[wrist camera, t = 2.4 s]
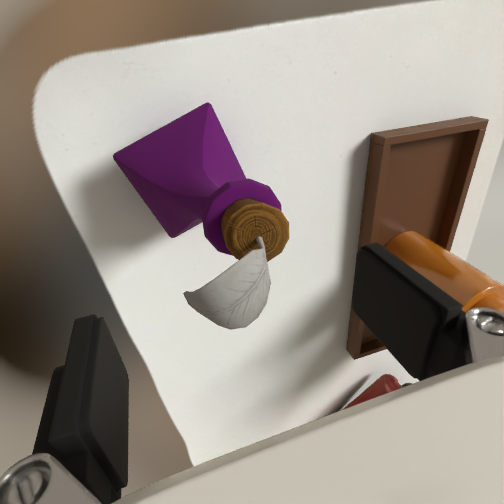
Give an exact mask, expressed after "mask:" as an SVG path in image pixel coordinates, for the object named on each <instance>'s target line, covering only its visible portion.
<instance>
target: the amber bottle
mask: <svg viewBox="0 0 504 504" xmlns="http://www.w3.org/2000/svg"><path fill="white" fill-rule="evenodd" d="M384 248H386V249H387V250H389V251H390V252H391V253H393V254H394V255H395V256H397V257H398V258H399V259H401V260H402V261H403V262H405V263H406V264H408V265H409V266H410V267H412V268H413V269H414V270H416V271H417V272H418V273H420V274H421V275H423V276H424V277H425V278H427V279H428V280H429V281H431V282H432V283H433V284H435V285H436V286H438V287H439V288H440V289H442V290H443V291H444V292H446V293H447V294H448V295H450V296H451V297H452V298H454V299H455V300H457V301H458V302H459V303H461V304H462V305H463V307H462V310H463V311H464V312H465V313H467V312H468V311H469V310H470V309H473V308H478V307H484V308H491V309H495V310H498V311H500V312H503V313H504V285H503V284H501V283H499V282H498V281H496V280H495V279H493V278H491V277H490V276H488V275H486V274H485V273H483V272H482V271H480V270H478V269H477V268H475V267H474V266H472V265H470V264H469V263H467V262H465V261H464V260H462V259H461V258H459V257H457V256H456V255H454V254H452V253H451V252H449V251H448V250H446V249H444V248H443V247H441V246H439V245H438V244H436V243H435V242H433V241H431V240H430V239H428V238H427V237H425V236H423V235H422V234H420V233H418V232H416V231H407V232H403V233H401V234H399V235H397V236H395V237H394V238H393V239H391V240H390V241H389V242H388V243H387V244H386V246H385V247H384Z"/></svg>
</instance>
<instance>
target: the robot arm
mask: <svg viewBox="0 0 504 504" xmlns="http://www.w3.org/2000/svg"><path fill="white" fill-rule="evenodd" d="M462 307H463V305H462V304H461V303H459V302H458V301H457V300H455V299H454V298H452V297H451V296H450V295H448V294H447V293H446V292H444V291H443V290H442V289H440V288H439V287H438V286H436V285H435V284H433V283H432V282H431V281H429V280H428V279H427V278H425V277H424V276H423V275H421V274H420V273H418V272H417V271H416V270H414V269H413V268H412V267H410V266H409V265H408V264H406V263H405V262H403V261H402V260H401V259H399V258H398V257H397V256H395V255H394V254H393V253H391V252H390V251H389V250H387V249H386V248H384V247H383V246H382V245H380V244H379V243H371V244H368V245H364V246H362V247H361V248H360V250H359V251H358V252H357V258H356V267H355V277H354V286H353V296H352V308H353V310H354V312H355V313H356V314H357V316H358V317H359V318H360V319H361V320H362V321H363V322H364V323H365V325H366V326H367V327H368V328H369V329H370V330H371V331H372V332H373V334H374V335H375V336H376V337H377V338H378V339H379V340H380V341H381V343H382V344H383V345H384V346H385V347H386V348H387V349H388V350H389V352H390V353H391V354H392V355H393V356H394V357H395V358H396V359H397V361H398V362H399V363H400V364H401V365H402V366H403V367H404V368H405V370H406V371H407V372H408V373H409V374H410V375H411V376H412V377H414V378H417V379H418V380H419V382H416V383H414V384H411V385H408V386H406V387H403V388H400V389H398V390H395V391H392V392H389V393H387V394H384V395H381V396H379V397H376V398H373V399H370V400H368V401H365V402H362V403H360V404H357V405H354V406H352V407H349V408H346V409H344V410H341V411H338V412H336V413H333V414H330V415H328V416H325V417H322V418H320V419H317V420H315V421H312V422H309V423H307V424H304V425H301V426H299V427H296V428H293V429H291V430H288V431H285V432H283V433H280V434H278V435H275V436H272V437H270V438H267V439H264V440H262V441H259V442H257V443H254V444H251V445H249V446H246V447H244V448H241V449H238V450H236V451H233V452H230V453H228V454H225V455H223V456H220V457H217V458H215V459H212V460H210V461H207V462H205V463H202V464H200V465H197V466H195V467H192V468H190V469H187V470H185V471H182V472H180V473H177V474H175V475H172V476H170V477H167V478H165V479H162V480H160V481H157V482H155V483H153V484H151V485H148V486H146V487H144V488H142V489H139V490H137V491H135V492H133V493H131V494H128V495H126V496H125V497H123V498H121V488H124V487H126V486H127V482H128V406H129V401H128V399H129V397H128V396H129V393H128V392H129V379H128V374H127V371H126V368H125V366H124V363H123V361H122V359H121V357H120V354H119V352H118V350H117V348H116V345H115V343H114V341H113V338H112V336H111V334H110V331H109V329H108V327H107V325H106V322H105V320H104V318H103V317H101V318H97V316H96V315H90V316H86V317H82V318H78V319H76V320H75V321H74V325H73V330H72V334H71V339H70V344H69V348H68V352H67V357H66V362H65V365H64V366H60V367H57V368H56V369H55V370H54V372H53V374H52V378H51V382H50V386H49V390H48V394H47V398H46V402H45V406H44V410H43V414H42V418H41V422H40V426H39V429H38V433H37V437H36V441H35V445H34V449H33V453H32V455H30V456H28V457H26V458H24V459H22V460H20V461H18V462H17V463H15V464H14V465H13V466H11V467H10V468H9V469H8V470H7V471H6V472H5V473H4V474H3V475H2V476H1V477H0V504H504V313H503V312H500V311H498V310H495V309H491V308H484V307H478V308H473V309H470V310H469V311H468V312H467V313H465V312H464V311H463V310H462Z"/></svg>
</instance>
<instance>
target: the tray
mask: <svg viewBox="0 0 504 504" xmlns="http://www.w3.org/2000/svg"><path fill="white" fill-rule="evenodd" d="M488 121H489V120H488V119H483V118H478V117H472V116H471V117H465V118H459V119H453V120H447V121H441V122H435V123H429V124H423V125H417V126H411V127H405V128H399V129H393V130H387V131H382V132H376V133H371V140H370V149H369V157H368V166H367V175H366V184H365V192H364V201H363V210H362V219H361V227H360V236H359V245H358V251H359V250H360V248H361V247H362V246H364V245H368V244H371V243H379V244H380V245H382V246H383V247H385V246H386V244H387V243H388V242H389V241H390V240H391V239H393V238H394V237H395V236H397V235H399V234H401V233H403V232H407V231H416V232H418V233H420V234H422V235H423V236H425V237H427V238H428V239H430V240H431V241H433V242H435V243H436V244H438V245H439V246H441V247H443V248H444V249H446V250H448V251H449V252H450V249H451V246H452V243H453V239H454V236H455V232H456V229H457V226H458V222H459V219H460V216H461V212H462V209H463V205H464V202H465V199H466V195H467V192H468V188H469V185H470V182H471V178H472V175H473V172H474V168H475V165H476V161H477V158H478V155H479V151H480V148H481V144H482V141H483V138H484V134H485V131H486V127H487V124H488ZM385 349H387V348H386V347H385V346H384V345H383V344H382V343H381V341H380V340H379V339H378V338H377V337H376V336H375V335H374V334H373V332H372V331H371V330H370V329H369V328H368V327H367V326H366V325H365V323H364V322H363V321H362V320H361V319H360V318H359V317H358V316H357V314H356V313H355V312H354V310H353V308H352V306H351V315H350V323H349V332H348V341H347V351H348V352H349V353H350V355H351V356H352V357H353V359H354V360H355V359H358V358H361V357H364V356H367V355H370V354H373V353H376V352H379V351H382V350H385Z"/></svg>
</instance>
